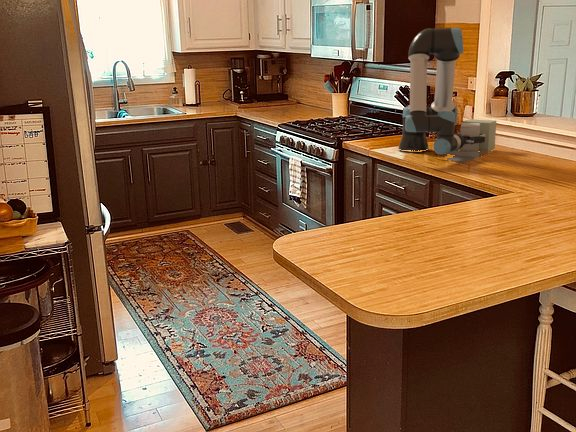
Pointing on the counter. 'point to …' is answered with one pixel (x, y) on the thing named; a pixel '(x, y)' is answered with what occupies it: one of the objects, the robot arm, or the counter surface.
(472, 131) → the supplement box
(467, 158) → the trivet
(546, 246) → the counter surface
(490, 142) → the dispenser rack
